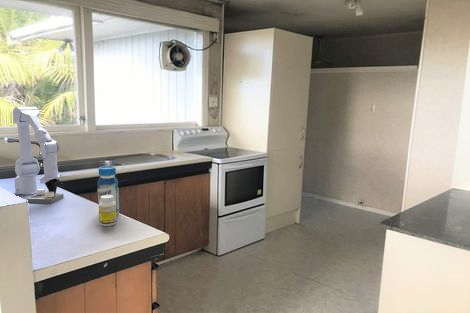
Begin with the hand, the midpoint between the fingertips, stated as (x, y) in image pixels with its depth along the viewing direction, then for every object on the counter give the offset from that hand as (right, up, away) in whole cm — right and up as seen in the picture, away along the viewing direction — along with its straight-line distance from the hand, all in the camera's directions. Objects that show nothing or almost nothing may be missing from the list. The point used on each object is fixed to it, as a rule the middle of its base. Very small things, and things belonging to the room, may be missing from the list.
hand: (52, 194), depth 170 cm
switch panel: (-4, -3, +1) cm, 4 cm away
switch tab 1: (-7, 0, +2) cm, 7 cm away
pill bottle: (+37, -8, -31) cm, 49 cm away
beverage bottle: (+33, -6, -18) cm, 39 cm away
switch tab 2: (0, -1, -2) cm, 2 cm away
